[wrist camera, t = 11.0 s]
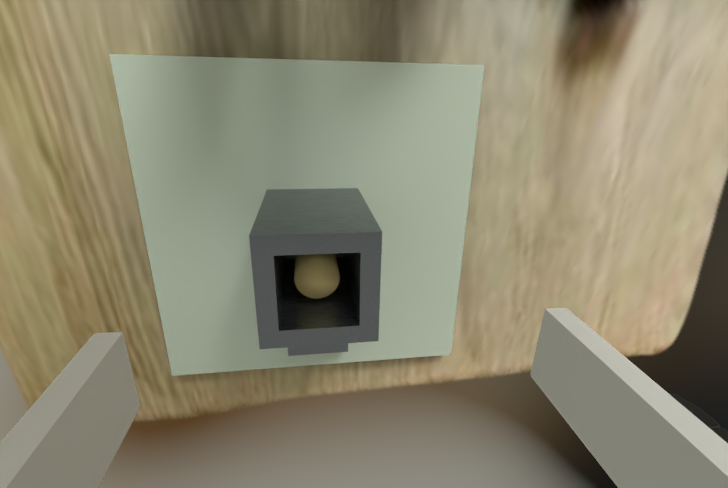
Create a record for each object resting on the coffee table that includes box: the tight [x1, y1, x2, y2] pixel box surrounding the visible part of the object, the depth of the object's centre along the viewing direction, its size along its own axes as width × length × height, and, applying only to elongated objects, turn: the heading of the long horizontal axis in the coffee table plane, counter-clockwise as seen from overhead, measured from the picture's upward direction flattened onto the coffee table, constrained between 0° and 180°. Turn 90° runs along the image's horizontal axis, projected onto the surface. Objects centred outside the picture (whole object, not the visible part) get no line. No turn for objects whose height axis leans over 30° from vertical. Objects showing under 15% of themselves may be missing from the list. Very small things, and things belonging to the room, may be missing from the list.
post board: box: [109, 54, 484, 376], centre depth 25 cm, size 22×22×8 cm
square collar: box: [249, 188, 382, 356], centre depth 24 cm, size 12×6×9 cm, turn 179°
